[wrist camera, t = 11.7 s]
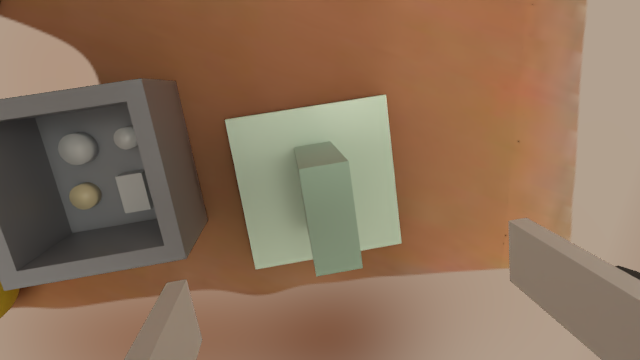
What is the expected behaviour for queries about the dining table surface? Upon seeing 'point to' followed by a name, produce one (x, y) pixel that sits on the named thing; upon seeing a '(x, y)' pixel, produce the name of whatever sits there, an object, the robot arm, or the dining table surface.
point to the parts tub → (95, 182)
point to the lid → (317, 183)
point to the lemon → (7, 299)
